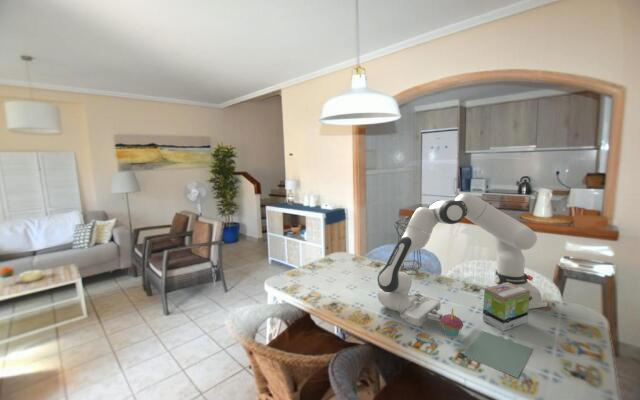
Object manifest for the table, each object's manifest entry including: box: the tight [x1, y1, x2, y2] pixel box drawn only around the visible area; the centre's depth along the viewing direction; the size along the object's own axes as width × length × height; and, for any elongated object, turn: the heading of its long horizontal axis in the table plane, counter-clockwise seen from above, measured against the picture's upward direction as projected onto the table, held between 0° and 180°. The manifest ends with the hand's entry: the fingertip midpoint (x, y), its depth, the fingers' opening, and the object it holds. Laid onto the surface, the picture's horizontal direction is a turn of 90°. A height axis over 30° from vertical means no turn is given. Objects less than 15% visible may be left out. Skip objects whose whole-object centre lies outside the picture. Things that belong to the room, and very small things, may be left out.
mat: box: [462, 330, 534, 379], centre depth 109 cm, size 20×20×1 cm
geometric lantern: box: [393, 215, 423, 275], centre depth 182 cm, size 16×16×35 cm
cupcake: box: [439, 307, 464, 337], centre depth 119 cm, size 9×8×12 cm
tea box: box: [482, 282, 530, 332], centre depth 125 cm, size 15×10×15 cm, turn 114°
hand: (440, 317), depth 122 cm, fingers closed
